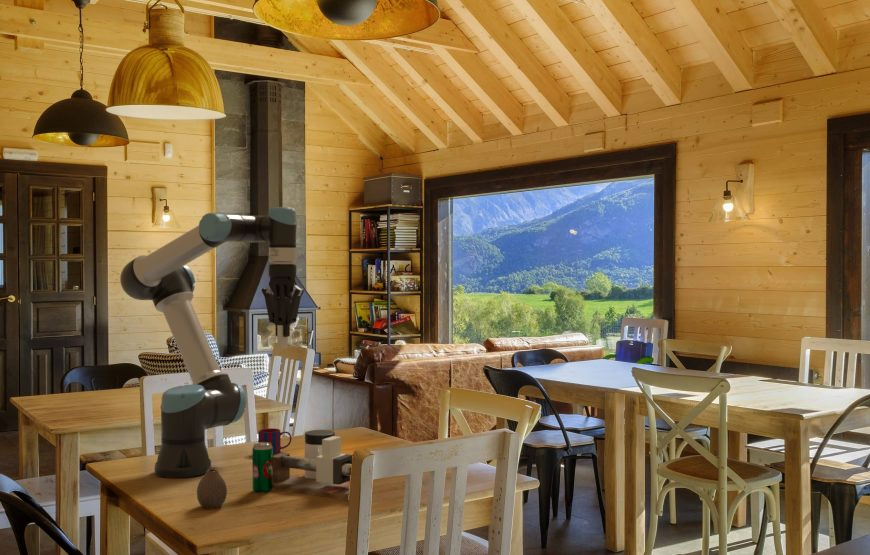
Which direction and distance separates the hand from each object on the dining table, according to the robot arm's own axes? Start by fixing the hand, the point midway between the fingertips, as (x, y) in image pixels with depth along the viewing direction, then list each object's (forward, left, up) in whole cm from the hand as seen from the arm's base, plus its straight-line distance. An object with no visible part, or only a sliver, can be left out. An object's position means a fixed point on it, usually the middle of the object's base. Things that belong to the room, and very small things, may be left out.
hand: (282, 348), depth 235 cm
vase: (+6, -35, -35) cm, 49 cm away
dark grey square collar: (+27, -10, -32) cm, 42 cm away
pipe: (+19, -10, -30) cm, 37 cm away
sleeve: (+23, -10, -32) cm, 40 cm away
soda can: (+7, -18, -35) cm, 40 cm away
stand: (+19, -10, -34) cm, 41 cm away
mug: (-18, +19, -35) cm, 44 cm away
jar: (+12, +1, -35) cm, 37 cm away
